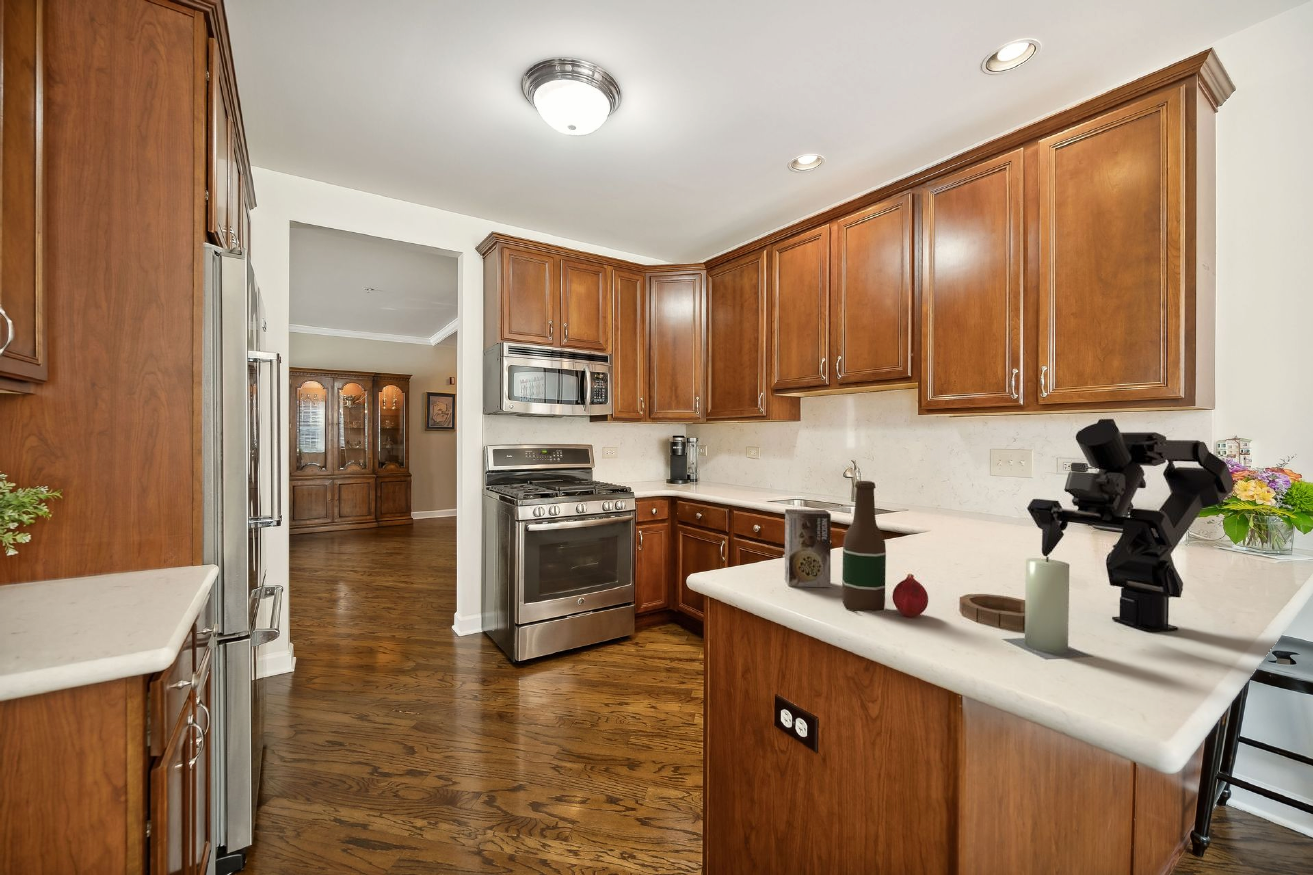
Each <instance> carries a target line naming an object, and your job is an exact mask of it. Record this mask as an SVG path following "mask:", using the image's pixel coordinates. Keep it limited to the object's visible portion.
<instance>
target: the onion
mask: <svg viewBox="0 0 1313 875" xmlns="http://www.w3.org/2000/svg"><path fill="white" fill-rule="evenodd" d="M892 602H893V604H894V606H895V608H896V609H897V610H898V612H899V613H900V614H902V615H903V616H904V617H907V618H916V617H918V616H920V615H921V614H922V613H923V612H925V611H926V609H927V607H928V604H929V595H928V592H927V590H926V589H925V587H924V586H923V585H922V584H921V583H920V581H918V580H916V579H915V574H912V573H908V574H907V576H906V578H905V579H903V580H901V581H899V583H898V584H897V585H895V587H894V589H893V591H892Z"/></svg>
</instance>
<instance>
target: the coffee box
mask: <svg viewBox="0 0 1313 875" xmlns="http://www.w3.org/2000/svg"><path fill="white" fill-rule="evenodd" d="M784 510H785V511H784V518H785V521H784V523H785V526H784V527H785V528H784V580H785V583H786V584H787V586H788V587H796V588H797V587H803V588H805V587H806V588H831V582H832V581H831V573H832V572H831V564H832V562H831V556H832V555H831V554H832V553H831V550H832V549H831V533H832V531H831V530H832V529H831V525H832V522H831V521H832V520H831V519H832V517H831V516H832V514H831V512H829V511H827V510H826V509H807V508H806V509H798V508H795V509H794V508H793V509H792V508H791V509H790V508H789V509H788V508H786V509H784Z"/></svg>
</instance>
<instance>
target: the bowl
mask: <svg viewBox="0 0 1313 875" xmlns="http://www.w3.org/2000/svg"><path fill="white" fill-rule="evenodd" d="M958 603H959V610H958V611H959V614H961V615H960V616H962V617H963V618H966V619H968V620H970V621H972V622H975V623H978V624H980V625H986V626H988V627H989V626H990V627H993V628H998V629H1002V630H1003V629H1004V630H1012V631H1020V632H1025V599H1022V598H1017V597H1012V596H1007V595H1006V596H1005V595H998V594H991V593H989V594H988V593H969V594H965V595H962V596H959V602H958Z"/></svg>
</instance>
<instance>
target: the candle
mask: <svg viewBox="0 0 1313 875" xmlns="http://www.w3.org/2000/svg"><path fill="white" fill-rule="evenodd" d="M1024 597H1025V598H1024V600H1025V631H1024V638H1025V645H1026V646H1027V647H1029V648H1031V649H1034V650H1037V651H1040V652H1045V653H1050V654H1066V653H1068V646H1069V625H1070V624H1069V622H1070V620H1069V618H1070V617H1069V616H1070V615H1069V612H1070V605H1069V604H1070V564H1069V563H1067V562H1066V561H1061V560H1055V559H1049V556H1045V558H1041V557H1040V558H1035V557H1034V558H1033V557H1032V558H1030V557H1029V558H1026V559H1025V596H1024Z"/></svg>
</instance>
